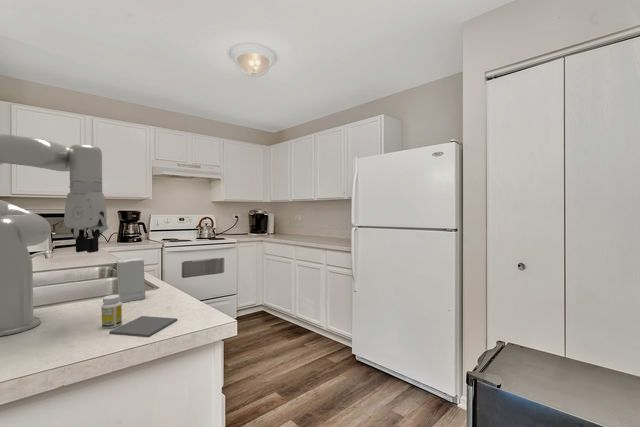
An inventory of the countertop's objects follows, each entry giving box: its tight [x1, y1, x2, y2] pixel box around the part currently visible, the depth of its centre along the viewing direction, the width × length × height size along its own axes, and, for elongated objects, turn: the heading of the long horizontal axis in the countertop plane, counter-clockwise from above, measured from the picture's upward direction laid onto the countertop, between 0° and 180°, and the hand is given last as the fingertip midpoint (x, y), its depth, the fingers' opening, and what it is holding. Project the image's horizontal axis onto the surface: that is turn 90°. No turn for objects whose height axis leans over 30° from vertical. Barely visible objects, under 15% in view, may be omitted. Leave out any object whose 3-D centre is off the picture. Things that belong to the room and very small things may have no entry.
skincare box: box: [116, 257, 146, 303], centre depth 114 cm, size 8×6×15 cm
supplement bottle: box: [101, 294, 123, 329], centre depth 89 cm, size 5×5×8 cm
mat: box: [108, 315, 178, 338], centre depth 88 cm, size 12×12×1 cm
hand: (87, 251), depth 90 cm, fingers open, 3 cm apart
